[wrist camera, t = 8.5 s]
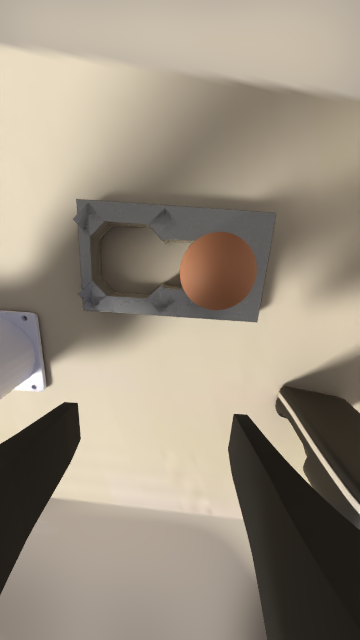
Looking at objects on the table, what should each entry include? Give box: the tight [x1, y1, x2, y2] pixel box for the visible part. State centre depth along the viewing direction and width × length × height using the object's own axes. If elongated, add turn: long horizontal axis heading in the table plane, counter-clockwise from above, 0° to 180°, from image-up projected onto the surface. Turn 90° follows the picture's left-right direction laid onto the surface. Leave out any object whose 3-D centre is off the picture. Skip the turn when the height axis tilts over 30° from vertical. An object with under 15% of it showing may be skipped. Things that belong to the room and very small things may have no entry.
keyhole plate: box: [73, 199, 276, 322], centre depth 17 cm, size 14×8×2 cm, turn 86°
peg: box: [180, 232, 257, 310], centre depth 15 cm, size 4×4×6 cm
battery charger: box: [275, 387, 360, 530], centre depth 16 cm, size 7×4×11 cm, turn 78°
